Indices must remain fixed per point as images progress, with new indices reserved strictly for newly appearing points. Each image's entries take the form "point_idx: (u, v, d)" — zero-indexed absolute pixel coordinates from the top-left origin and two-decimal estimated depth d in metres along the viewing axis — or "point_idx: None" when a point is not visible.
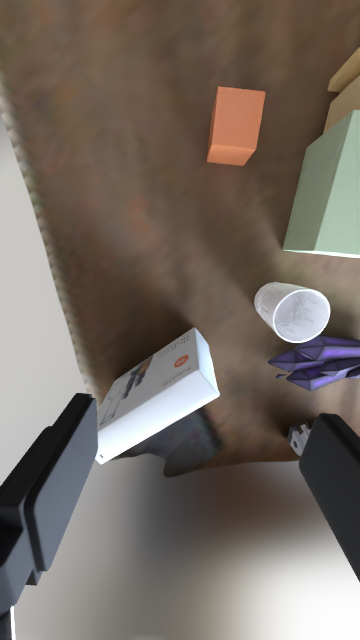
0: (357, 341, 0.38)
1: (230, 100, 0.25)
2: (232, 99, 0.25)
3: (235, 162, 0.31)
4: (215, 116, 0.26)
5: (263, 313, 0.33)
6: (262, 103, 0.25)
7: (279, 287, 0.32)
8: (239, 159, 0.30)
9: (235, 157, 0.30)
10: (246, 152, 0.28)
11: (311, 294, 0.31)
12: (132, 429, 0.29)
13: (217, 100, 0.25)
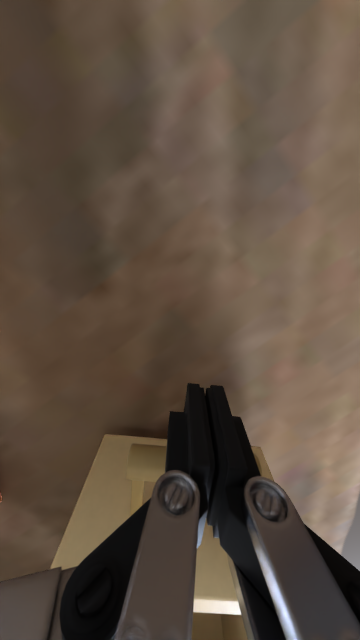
0: None
1: None
2: None
3: None
4: None
5: None
6: None
7: None
8: None
9: None
10: None
11: None
12: None
13: None
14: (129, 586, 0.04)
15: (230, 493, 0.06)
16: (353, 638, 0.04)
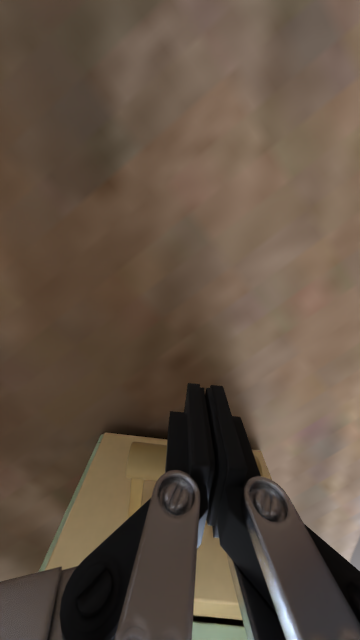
0: None
1: None
2: None
3: None
4: None
5: None
6: None
7: None
8: None
9: None
10: None
11: None
12: None
13: None
14: (129, 586, 0.04)
15: (230, 493, 0.06)
16: (352, 638, 0.04)
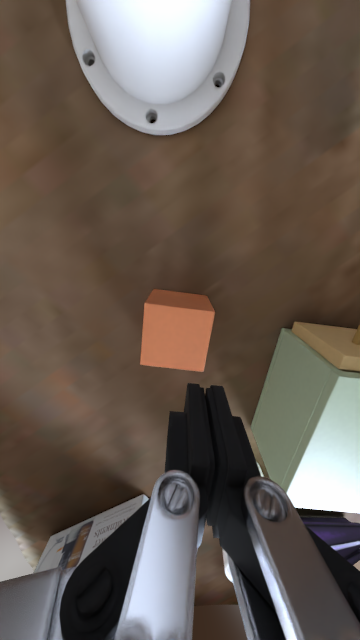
0: (339, 529, 0.31)
1: (164, 319, 0.17)
2: (166, 318, 0.17)
3: None
4: (143, 335, 0.18)
5: None
6: (210, 324, 0.17)
7: None
8: None
9: None
10: None
11: None
12: None
13: (144, 318, 0.17)
14: (129, 586, 0.04)
15: (230, 493, 0.06)
16: (352, 637, 0.04)
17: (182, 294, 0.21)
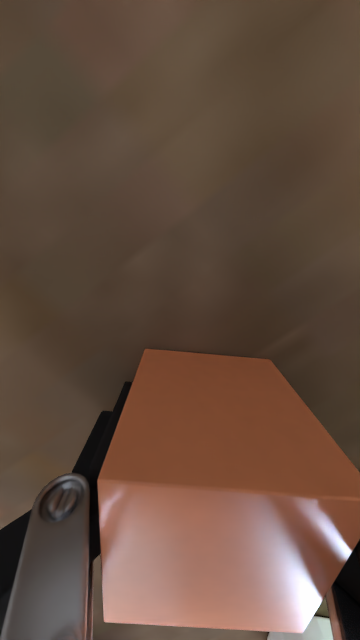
0: None
1: (177, 525, 0.04)
2: (187, 522, 0.04)
3: None
4: (106, 559, 0.05)
5: None
6: (355, 536, 0.05)
7: None
8: None
9: None
10: None
11: None
12: None
13: (104, 523, 0.04)
14: None
15: None
16: None
17: (216, 365, 0.09)
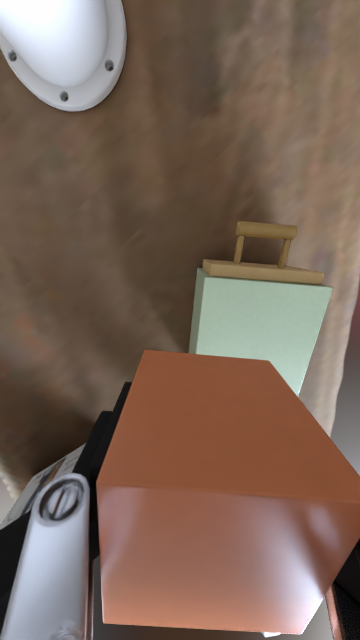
0: None
1: (176, 527, 0.04)
2: (186, 524, 0.04)
3: None
4: None
5: None
6: (353, 538, 0.05)
7: None
8: None
9: None
10: None
11: None
12: None
13: (103, 525, 0.05)
14: None
15: None
16: None
17: (215, 366, 0.09)
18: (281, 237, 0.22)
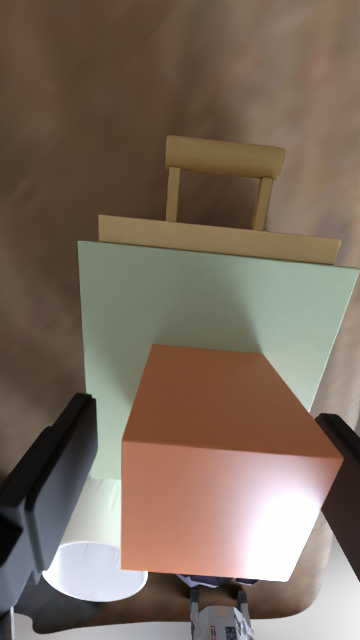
0: None
1: (183, 479, 0.06)
2: (191, 476, 0.06)
3: None
4: (124, 511, 0.06)
5: None
6: (325, 489, 0.06)
7: (89, 482, 0.19)
8: None
9: None
10: None
11: None
12: None
13: (125, 477, 0.06)
14: None
15: None
16: None
17: (215, 358, 0.10)
18: (253, 171, 0.11)
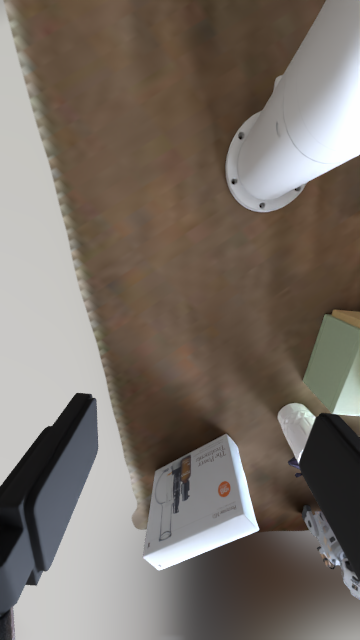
0: None
1: None
2: None
3: None
4: None
5: (288, 441, 0.41)
6: None
7: (302, 423, 0.40)
8: None
9: None
10: None
11: None
12: (187, 549, 0.36)
13: None
14: None
15: None
16: None
17: None
18: None
